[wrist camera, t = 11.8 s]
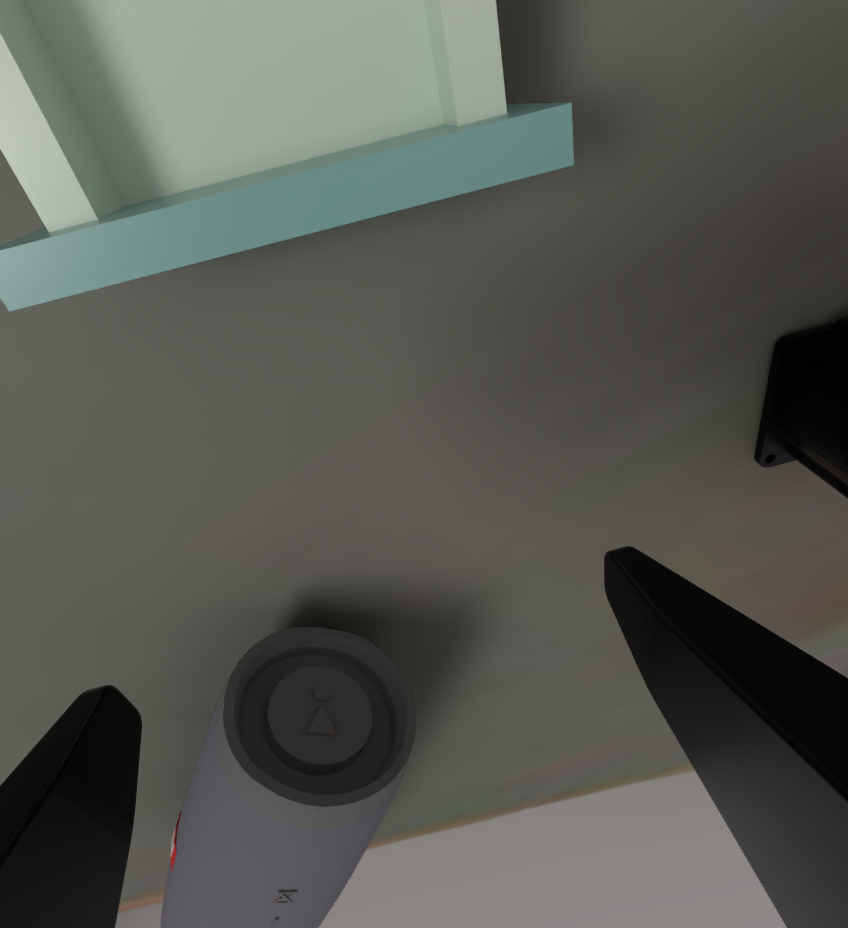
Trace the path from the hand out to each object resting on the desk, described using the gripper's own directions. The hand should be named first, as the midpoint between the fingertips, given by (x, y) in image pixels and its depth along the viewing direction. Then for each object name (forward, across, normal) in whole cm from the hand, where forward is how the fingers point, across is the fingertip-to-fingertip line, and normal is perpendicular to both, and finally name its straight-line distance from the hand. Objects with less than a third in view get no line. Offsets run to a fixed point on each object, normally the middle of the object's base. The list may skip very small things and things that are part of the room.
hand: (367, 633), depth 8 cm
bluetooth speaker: (+14, +11, +23) cm, 29 cm away
